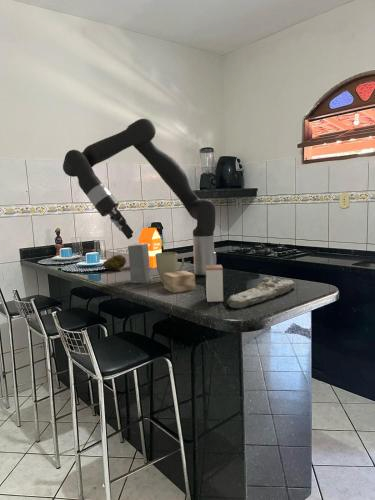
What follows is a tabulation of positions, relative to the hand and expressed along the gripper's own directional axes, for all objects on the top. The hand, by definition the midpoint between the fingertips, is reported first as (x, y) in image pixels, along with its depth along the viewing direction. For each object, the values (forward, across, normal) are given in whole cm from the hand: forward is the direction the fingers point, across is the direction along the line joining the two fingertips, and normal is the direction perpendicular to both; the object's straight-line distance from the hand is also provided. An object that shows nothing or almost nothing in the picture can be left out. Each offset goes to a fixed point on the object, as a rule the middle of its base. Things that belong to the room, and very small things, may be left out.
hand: (130, 236), depth 136 cm
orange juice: (+13, +62, -5) cm, 63 cm away
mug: (+23, +21, -3) cm, 31 cm away
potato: (+4, +56, +11) cm, 58 cm away
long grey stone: (+45, -12, -21) cm, 51 cm away
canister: (+35, -11, -8) cm, 37 cm away
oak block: (+26, +8, -3) cm, 28 cm away
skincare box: (+15, +26, +6) cm, 31 cm away
